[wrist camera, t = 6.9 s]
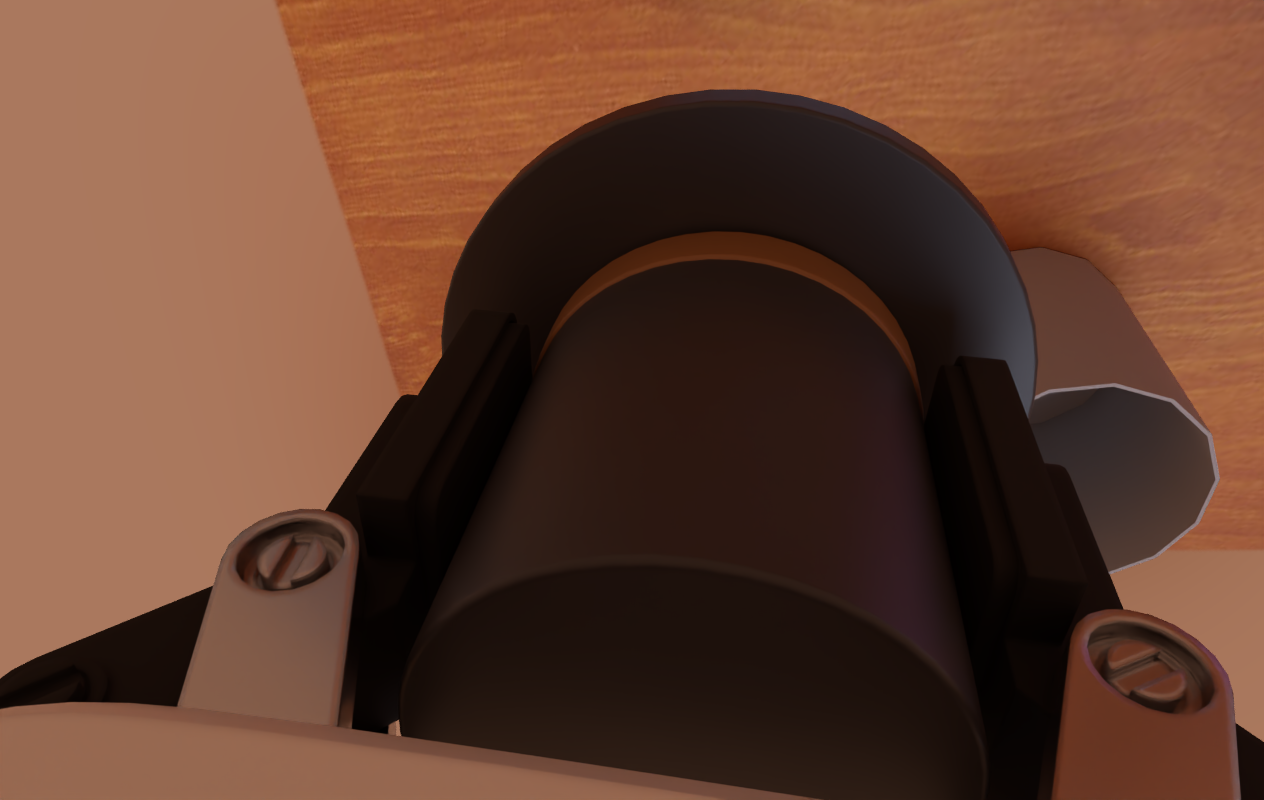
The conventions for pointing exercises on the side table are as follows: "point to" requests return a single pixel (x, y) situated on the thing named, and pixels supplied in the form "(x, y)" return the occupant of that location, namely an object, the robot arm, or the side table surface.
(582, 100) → the side table surface
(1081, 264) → the cup
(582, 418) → the hat
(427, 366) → the side table surface
